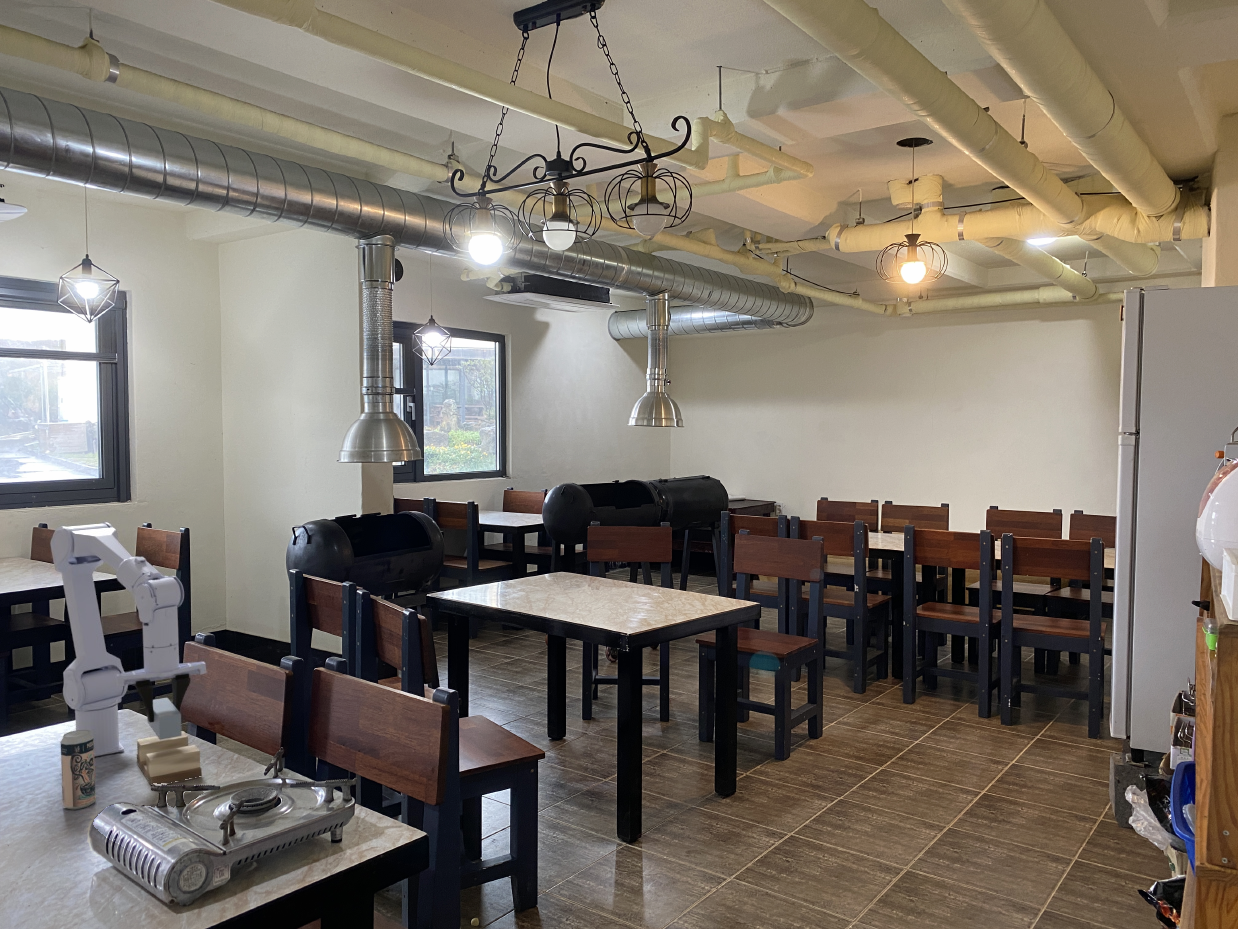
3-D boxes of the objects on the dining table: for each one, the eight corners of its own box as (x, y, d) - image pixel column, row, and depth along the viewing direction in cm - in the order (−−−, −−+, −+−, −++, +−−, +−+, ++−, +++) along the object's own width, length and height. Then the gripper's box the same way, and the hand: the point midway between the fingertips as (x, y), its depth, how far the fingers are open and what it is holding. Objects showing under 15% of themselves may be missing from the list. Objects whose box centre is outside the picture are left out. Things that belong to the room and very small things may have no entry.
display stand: (136, 762, 173) (136, 738, 173) (183, 753, 178) (182, 729, 178) (152, 787, 160) (151, 762, 160) (201, 777, 165) (200, 752, 165)
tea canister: (80, 812, 150) (78, 738, 150) (55, 810, 151) (52, 737, 151) (102, 800, 155) (100, 729, 155) (78, 798, 156) (75, 728, 156)
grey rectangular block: (147, 722, 173) (146, 700, 173) (167, 718, 175) (167, 697, 175) (159, 740, 162) (159, 717, 162) (181, 735, 164) (180, 713, 164)
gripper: (119, 654, 161) (122, 732, 161) (208, 642, 169) (211, 716, 170) (113, 647, 167) (116, 722, 167) (200, 636, 175) (202, 707, 175)
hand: (163, 718), depth 169 cm, fingers closed on grey rectangular block, 3 cm apart
